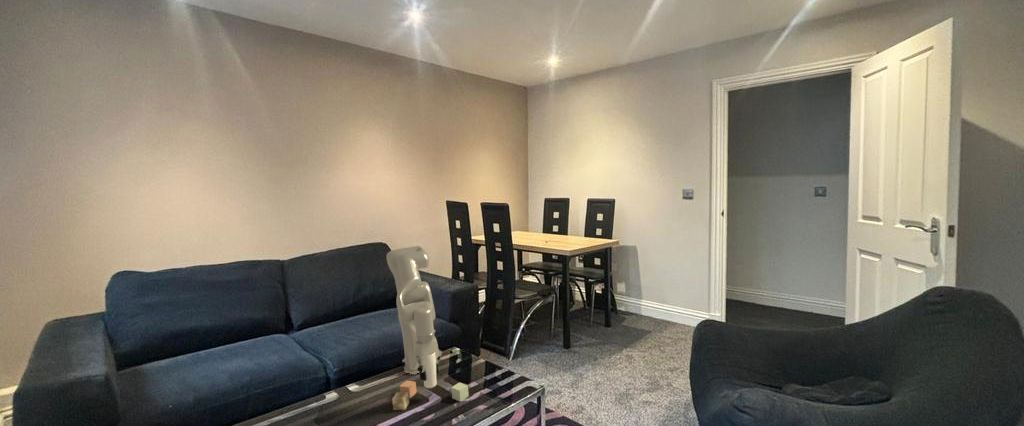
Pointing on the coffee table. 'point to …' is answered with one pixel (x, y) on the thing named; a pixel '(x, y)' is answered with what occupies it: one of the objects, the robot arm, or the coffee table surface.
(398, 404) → the birch block
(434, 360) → the drinking glass
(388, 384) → the coffee table surface
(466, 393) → the sage block
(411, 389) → the terracotta block
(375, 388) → the coffee table surface
